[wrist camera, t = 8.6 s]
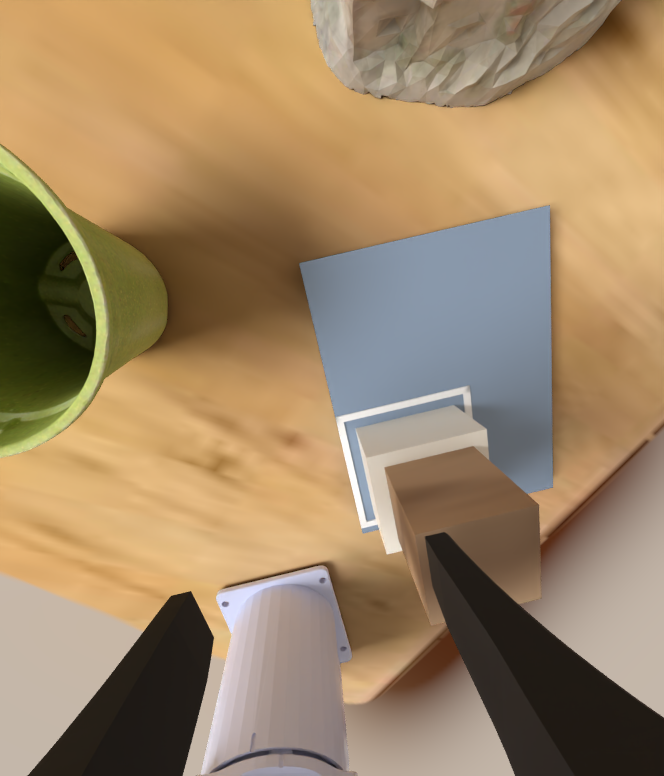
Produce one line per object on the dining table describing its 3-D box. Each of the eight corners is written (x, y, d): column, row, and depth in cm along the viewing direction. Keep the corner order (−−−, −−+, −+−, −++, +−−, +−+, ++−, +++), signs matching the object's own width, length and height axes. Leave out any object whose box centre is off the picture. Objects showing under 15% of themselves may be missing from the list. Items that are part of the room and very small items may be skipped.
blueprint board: (542, 479, 22) (554, 488, 21) (360, 522, 21) (363, 534, 20) (535, 210, 17) (551, 204, 16) (299, 265, 16) (298, 262, 15)
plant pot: (101, 151, 14) (-177, -46, 6) (240, 314, 17) (177, 331, 9) (-31, 280, 16) (-418, 262, 7) (119, 416, 18) (-40, 517, 10)
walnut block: (480, 520, 17) (541, 598, 12) (398, 540, 16) (430, 625, 12) (473, 445, 15) (538, 504, 11) (384, 467, 15) (415, 535, 11)
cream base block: (463, 489, 20) (494, 528, 17) (373, 511, 20) (386, 554, 17) (453, 405, 18) (486, 429, 15) (355, 428, 18) (366, 457, 15)
